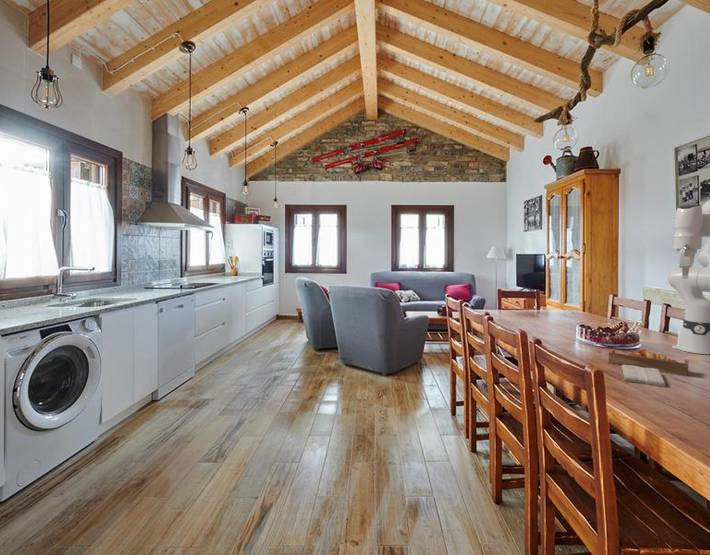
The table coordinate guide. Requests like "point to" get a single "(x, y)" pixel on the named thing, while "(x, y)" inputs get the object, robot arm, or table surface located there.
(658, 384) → the washcloth
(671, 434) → the table surface
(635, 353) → the croissant
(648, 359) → the frame
